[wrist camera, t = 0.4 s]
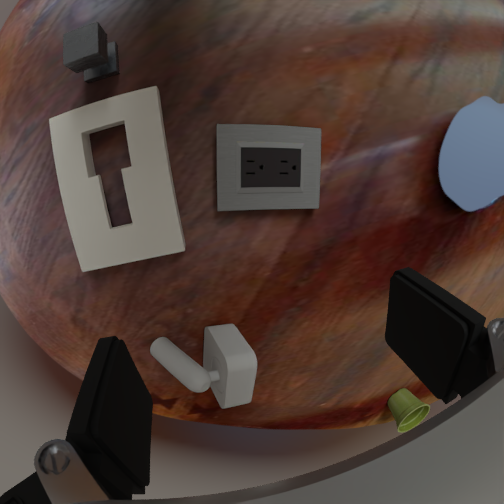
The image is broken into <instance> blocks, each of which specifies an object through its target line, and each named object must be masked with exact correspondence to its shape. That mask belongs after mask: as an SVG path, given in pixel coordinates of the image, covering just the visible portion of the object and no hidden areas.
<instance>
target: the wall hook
mask: <svg viewBox="0 0 504 504" xmlns="http://www.w3.org/2000/svg"><path fill="white" fill-rule="evenodd" d="M150 353H151V355H152V356H153V357H154V358H155V359H156V360H157V361H159V362H160V363H161V364H162V365H163V366H164V367H165V368H166V369H167V370H168V371H169V372H170V373H171V374H172V375H173V376H175V377H176V378H177V379H178V380H179V381H180V382H181V383H182V384H183V385H185V386H186V387H187V388H188V389H189V390H191V391H193V392H204V391H206V390H207V389H208V388H209V387H211V389H212V391H213V393H214V395H215V397H216V399H217V401H218V403H219V405H220V407H221V408H222V409H224V408H229V407H233V406H238V405H242V404H247V403H250V402H251V399H252V394H253V389H254V383H255V377H256V371H257V359H256V355H255V353H254V351H253V350H252V348H251V347H250V346H249V344H248V343H247V342H246V340H245V339H244V337H243V336H242V335H241V333H240V332H239V330H238V329H237V328H236V326H235V325H234V324H225V325H217V326H208V327H205V331H204V353H203V367H202V366H200V365H199V364H198V363H197V362H195V361H194V360H193V359H192V358H190V357H189V356H188V355H187V354H185V353H184V352H183V351H182V350H181V349H179V348H178V347H177V346H176V345H175V344H173V343H172V342H171V341H170V340H169V339H167V338H166V337H160V338H158V339H156V340H155V341H154V342H153V343H152V345H151V348H150Z"/></svg>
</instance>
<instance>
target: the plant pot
mask: <svg viewBox="0 0 504 504" xmlns="http://www.w3.org/2000/svg"><path fill="white" fill-rule="evenodd" d="M388 406H389V408H390V410H391V412H392V414H393V416H394V418H395V420H396V424H397V430H398V432H406V431H409V430H410V429H412V428H414V427H415V426H416V425H418V424H419V423H420V422H421V421H422V420H423V419H424V418H425V417H426V415H427V414H428V412H429V410H430V406H429V405H428V404H425V403H423V402H421V401H420V400H419V399H418V398H416V397H415V396H414V395H413V394H412V393H411V392H409V391H408V390H407V389H405V388H404V389H400V390H398V392H397V393H395V394H393V395H392V396H391V397H390V398H389V400H388Z"/></svg>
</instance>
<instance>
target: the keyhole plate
mask: <svg viewBox="0 0 504 504" xmlns="http://www.w3.org/2000/svg"><path fill="white" fill-rule="evenodd" d="M49 123H50V132H51V140H52V147H53V154H54V160H55V166H56V172H57V177H58V183H59V188H60V192H61V197H62V201H63V206H64V210H65V214H66V218H67V222H68V226H69V230H70V233H71V237H72V240H73V244H74V247H75V250H76V254H77V257H78V260H79V263H80V266H81V269H82V272H86V271H91V270H96V269H100V268H105V267H110V266H114V265H119V264H124V263H129V262H134V261H139V260H143V259H148V258H153V257H158V256H163V255H168V254H173V253H178V252H183V251H185V245H186V243H185V238H184V234H183V229H182V224H181V219H180V214H179V209H178V204H177V199H176V194H175V189H174V183H173V178H172V172H171V166H170V160H169V155H168V148H167V142H166V136H165V129H164V122H163V116H162V108H161V101H160V93H159V90H158V88H157V86H153V87H149V88H144V89H140V90H136V91H132V92H128V93H125V94H121V95H117V96H114V97H111V98H107V99H104V100H101V101H97V102H94V103H91V104H88V105H85V106H82V107H79V108H77V109H74V110H71V111H68V112H66V113H63V114H61V115H58V116H55V117H53V118H50V119H49ZM122 124H125V129H126V135H127V142H128V148H129V154H130V160H131V167H127V168H123V169H121V171H122V176H123V182H124V187H125V192H126V196H127V201H128V206H129V210H130V214H131V219H132V223H130V224H126V225H122V226H117V227H113V228H112V225H111V221H110V217H109V213H108V208H107V204H106V199H105V195H104V190H103V185H102V180H101V175H97V176H96V173H95V168H94V162H93V156H92V150H91V144H90V137H89V134H91V133H94V132H98V131H101V130H104V129H108V128H111V127H115V126H118V125H122Z"/></svg>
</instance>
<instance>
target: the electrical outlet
mask: <svg viewBox="0 0 504 504" xmlns="http://www.w3.org/2000/svg"><path fill="white" fill-rule="evenodd" d="M320 166H321V129H320V128H309V127H295V126H279V125H253V124H217V211H236V210H266V209H319V193H320Z"/></svg>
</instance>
